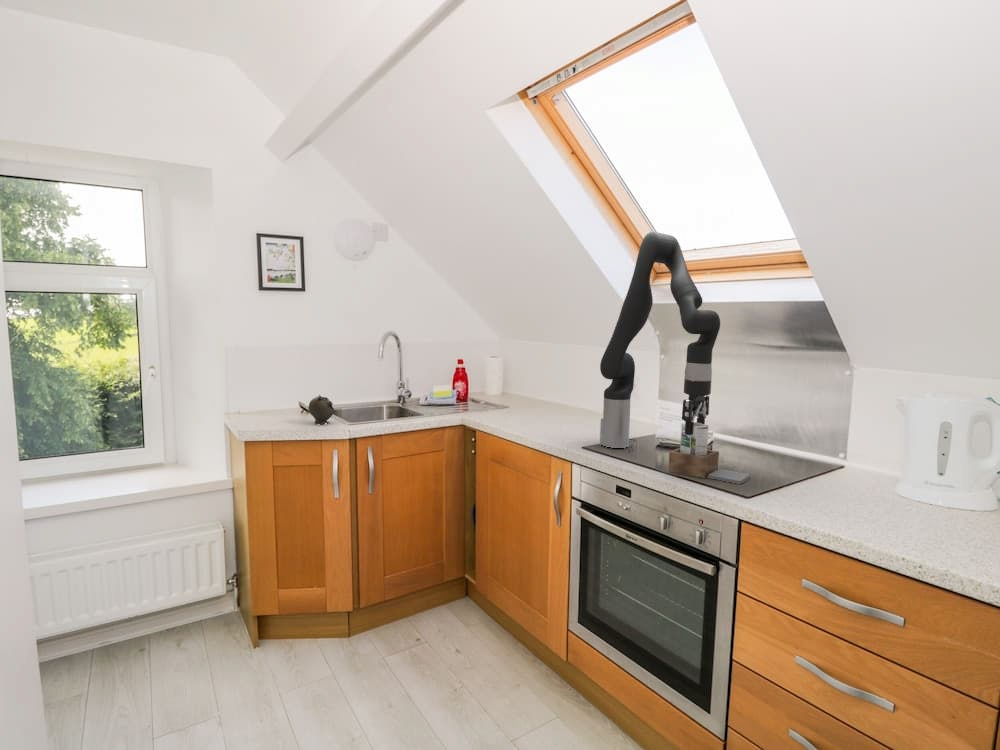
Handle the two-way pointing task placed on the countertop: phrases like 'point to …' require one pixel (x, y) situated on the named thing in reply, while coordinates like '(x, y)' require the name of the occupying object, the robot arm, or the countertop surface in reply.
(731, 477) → the slate mat
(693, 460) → the walnut sleeve
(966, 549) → the countertop surface
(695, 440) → the syrup box
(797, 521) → the countertop surface
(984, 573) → the countertop surface
